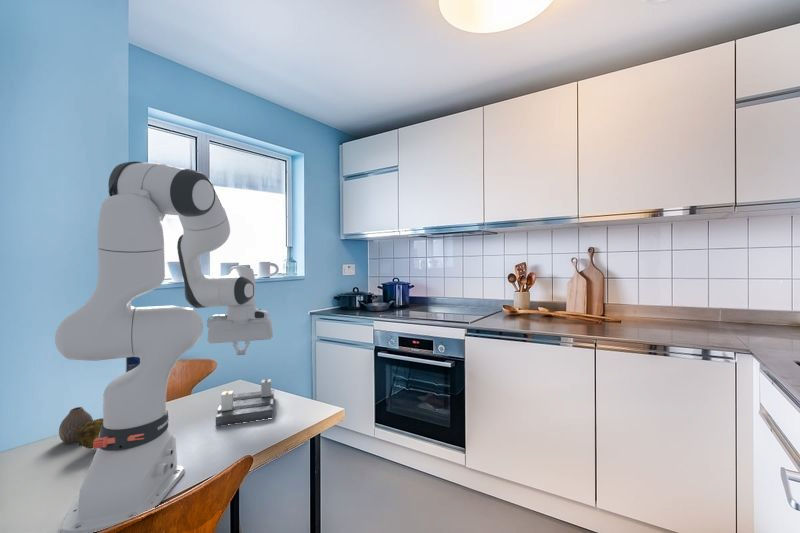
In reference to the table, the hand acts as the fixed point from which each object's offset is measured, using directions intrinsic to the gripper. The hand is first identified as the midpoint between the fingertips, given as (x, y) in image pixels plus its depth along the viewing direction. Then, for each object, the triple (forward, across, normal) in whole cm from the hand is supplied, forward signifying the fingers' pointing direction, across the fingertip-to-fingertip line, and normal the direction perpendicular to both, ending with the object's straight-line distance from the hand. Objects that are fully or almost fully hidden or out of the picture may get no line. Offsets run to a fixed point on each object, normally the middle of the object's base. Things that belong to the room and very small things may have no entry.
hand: (241, 354), depth 115 cm
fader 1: (+15, -3, -7) cm, 17 cm away
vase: (+18, -41, -7) cm, 45 cm away
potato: (+19, -31, -14) cm, 39 cm away
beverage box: (+18, -30, +4) cm, 35 cm away
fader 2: (+15, +8, +1) cm, 17 cm away
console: (+18, +2, -3) cm, 19 cm away
